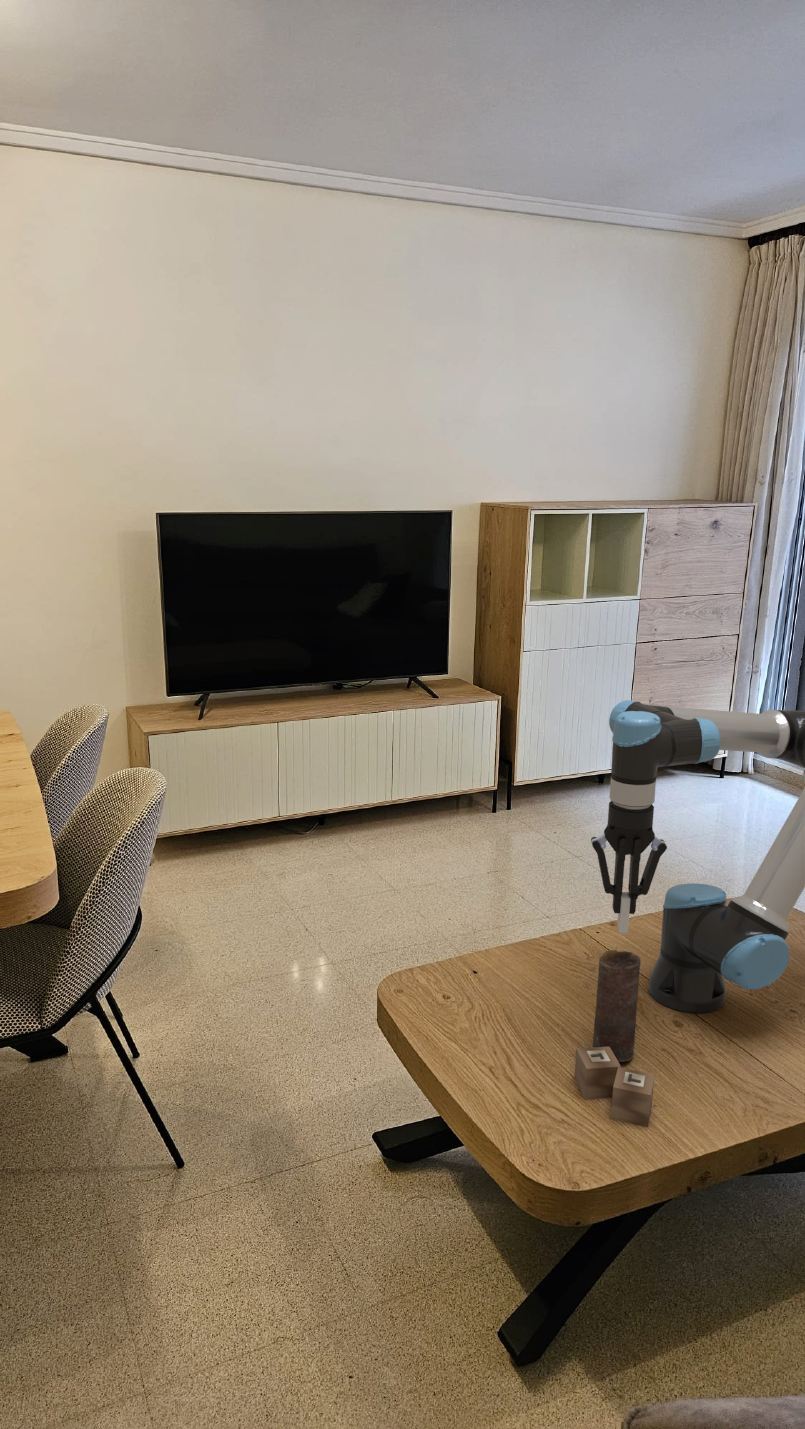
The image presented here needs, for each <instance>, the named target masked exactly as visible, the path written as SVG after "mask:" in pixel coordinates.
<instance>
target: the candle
mask: <svg viewBox="0 0 805 1429" xmlns="http://www.w3.org/2000/svg"><path fill="white" fill-rule="evenodd" d="M598 961H599V963H598V973H597V974H598V975H597V986H596V987H597V988H596V1002H595V1012H594V1023H593V1024H594V1025H593V1037H592V1048H593V1047H610V1048H611V1050H612V1052H613V1053H614V1055H615V1057H616V1059H617V1060H618V1062H619V1063H620V1062H621V1063H624V1062H628V1061H631V1060H632V1059H633V1057H634V1055H635V1054H634V1052H635V1050H634V1049H635V1042H636V1040H635V1038H636V1028H637V1027H636V1026H637V1009H638V996H639V986H640V985H639V984H640V981H639V980H640V972H641V958H640V956H639V955H638V954H636V953H634V952H630V951H627V950H626V951H618V950H616V949H614V950H612V949H610V950H608V951H604V952H603V953H602V954H601V956H600V957H599V960H598Z"/></svg>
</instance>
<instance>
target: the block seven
mask: <svg viewBox="0 0 805 1429" xmlns="http://www.w3.org/2000/svg"><path fill="white" fill-rule="evenodd" d="M655 1076H656V1075H655V1074H654V1073H649V1072H644V1071H640V1070H635V1069H634V1070H633V1069H631V1068H624V1067H622V1066H621V1067H618V1069H617V1074H616V1078H615V1082H614V1086H613V1097H612V1098H611V1099H612V1101H611V1112H610V1119H611V1120H614V1121H619V1122H622V1123H623V1122H624V1123H627V1124H633V1125H636V1126H641V1127H646V1128H649V1126H650V1125H649V1123H650V1119H651V1114H652V1113H651V1112H652V1106H653V1099H654V1098H653V1096H654V1088H655V1087H654V1084H655Z"/></svg>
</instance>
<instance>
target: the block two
mask: <svg viewBox="0 0 805 1429" xmlns="http://www.w3.org/2000/svg"><path fill="white" fill-rule="evenodd" d="M574 1061H575V1062H574V1078H573V1079H574V1081H575V1083H576V1086H577V1087H578V1089H579V1092H580V1093H581V1095H582V1097H583V1099H584V1101H586V1100H600V1099H601V1100H602V1099H612V1097H613V1086H614V1082H615V1078H616V1074H617V1069H618V1067H621V1068H622V1066H621V1064H620V1062H618V1060H617V1059H616V1057H615V1055H614V1053H613V1052H612V1050H611V1048H610V1047H593V1046H592V1047H579V1048H578V1047H577V1048H575V1060H574Z"/></svg>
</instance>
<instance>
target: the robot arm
mask: <svg viewBox="0 0 805 1429" xmlns="http://www.w3.org/2000/svg"><path fill="white" fill-rule="evenodd" d="M608 718H609V719H608V722H609V723H608V725H609V729H610V731H611V732H612V734H613V735H612V740H611V741H612V747H611V748H612V750H611V751H612V753H611V770H610V786H609V800H610V802H609V803H608V810H607V811H608V812H607V824H606V827H605V828H604V830H603V833H602V834H601V835H599V836H597V837H596V836H592V837H591V839H590V842H591V845H592V848H593V849H594V851H595V853H596V855H597V860H598V865H599V870H600V876H601V881H602V885H603V886H602V887H603V890H604V892H605V893H606V894H608V895H609V894H610V895H612V911H613V912H614V914H617V925H616V927H617V931H618V932H619V934H628V933H629V922H630V915H634V914H635V913H636V911H637V910H636V909H637V899H638V898H639V896H641V895H643V896H646V895H648V894H649V891H650V889H651V888H650V887H651V884H652V882H653V879H654V876H655V873H656V871H657V867H658V865H659V862H660V860H661V857H662V856H663V854H664V853H665V852H666V851H667V849H668V846H667V844H666V842H665V840H664V839H662V838H661V839H660V838H658V837H657V836H656V834H655V832H654V830H653V826H654V825H653V824H654V814H655V813H654V810H655V806H654V805H653V804H654V803H655V801H656V800H655V799H656V788H657V787H656V784H657V775H658V768H663V767H665V768H666V767H671V766H679V765H680V766H681V765H689V764H690V765H691V764H695V765H696V764H699V763H703V762H708V761H712V760H714V758H715V757H716V756H718V754H719V752H720V751H732V752H744V753H745V752H747V753H758V754H759V755H760V756H762V757H763V758H765V759H775V760H780V761H784V762H787V763H790V764H791V765H792V764H793V765H796V766H798V767H800V768H803V769H804V771H803V773H802V776H803V780H804V781H805V710H791V709H790V710H789V709H788V710H787V709H785V710H783V709H767V710H764V711H763V712H761V713H756V712H755V713H753V712H742V711H741V712H739V711H731V710H730V711H729V710H728V711H727V710H718V709H717V710H716V709H715V710H714V709H703V708H702V709H701V708H692V707H691V708H690V707H678V706H663V705H654V704H653V705H652V704H650V705H649V704H645V703H641V702H640V701H637V700H636V701H634V700H630V699H628V700H627V699H626V700H623V701H620V702H619V703H616V705H615V706H614V707H613V708H612V710H611V712H610V714H609V717H608ZM606 842H608V843H609V845H610V847H611V848H612V849H613V850H614V853H615V859H614V861H615V862H614V873H613V874H614V875H613V883H611V879H610V874H609V868H608V862H607V858H606V853H605V849H606V847H607V844H606ZM649 846H650V848H651V850H650V853H649V856H648V858H647V861H646V864H645V867H644V870H643V873H642V875H641V877H640V878H641V879H640V878H639V876H640V862H641V856H642V853H643V852H645V850H646V849H647V848H648V847H649ZM627 855H629V856H630V860H629V870H628V872H629V873H628V888H627V890H628V892H627V891H623V889H624V888H623V887H624V886H623V885H624V874H625V873H624V872H625V861H626V856H627ZM755 872H756V873H755V874H754V876H753V878H752V879H751V881H750V883H749V884H748V887H747V888H746V890H745V892H744V893H743V894H742V895H740V896H736V897H732V898H731V899H730V901H729V903H728V904H727V900H728V898H727V893H726V891H725V890H723V889H722V888H720V887H717V886H714V885H711V884H707V883H706V884H705V883H694V882H693V883H682V884H678V885H677V884H676V885H674V886H671V887H670V888H669V889H667V891H666V893H665V896H664V903H663V905H662V908H663V909H662V922H661V923H662V924H661V936H660V949H659V950H660V951H659V952H660V953H659V955H658V958H657V960H656V962H655V964H654V966H653V969H652V971H651V972H650V975H649V979H648V987H647V988H648V989H647V990H648V993H649V994H650V995H651V997H652V998H653V999H654V1000H656V1001H657V1002H658V1003H659V1004H661V1005H663V1006H665V1007H668V1008H670V1009H673V1010H677V1011H681V1012H686V1013H697V1014H698V1013H710V1012H714V1011H716V1010H718V1009H720V1008H721V1007H723V1005H724V1004H725V1002H726V996H727V995H726V994H727V993H726V991H727V989H726V984H725V981H724V979H725V980H726V981H729V982H731V983H733V984H735V985H737V986H738V987H740V988H742V989H745V990H750V991H753V990H755V991H756V990H760V989H762V988H764V987H768V986H770V985H772V984H773V983H774V982H776V981H777V980H778V979H779V978H780V977H781V976H782V974H784V972H785V970H786V969H787V967H788V964H789V963H790V962H789V961H790V955H789V954H790V947H789V945H788V944H787V941H786V939H787V937H788V936H789V933H790V928H789V924H788V918H789V916H790V914H791V912H792V911H793V908H794V907H795V905H796V904H797V902H798V900H799V898H800V897H801V894H802V892H804V889H805V787H804V788H803V790H802V792H801V794H800V795H799V797H798V798H797V800H796V802H795V804H794V806H793V808H792V809H791V811H790V813H789V815H788V816H787V818H786V820H785V822H784V823H783V825H782V826H781V829H780V831H779V832H778V834H777V835H776V838H775V839H774V841H773V843H772V844H771V845H770V848H769V849H768V852H767V853H766V855H765V857H764V859H763V860H762V862H761V864H760V865H759V868H758V869H757V871H755ZM639 879H640V881H639ZM726 904H727V905H726Z"/></svg>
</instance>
